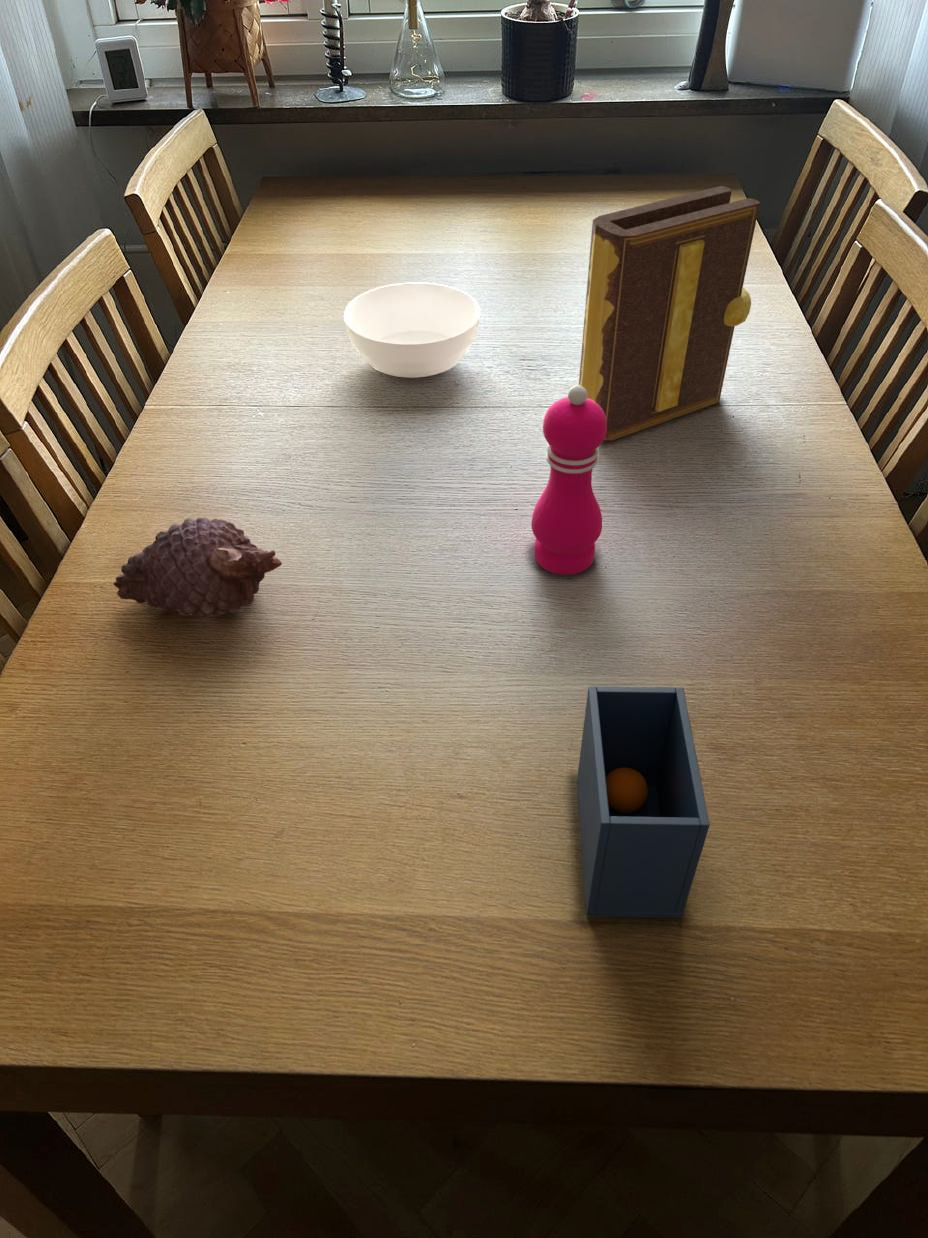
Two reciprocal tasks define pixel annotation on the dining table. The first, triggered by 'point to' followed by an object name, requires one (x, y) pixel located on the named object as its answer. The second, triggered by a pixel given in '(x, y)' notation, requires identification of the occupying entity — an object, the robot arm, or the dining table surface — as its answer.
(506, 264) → the dining table surface
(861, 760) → the dining table surface
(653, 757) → the gray box
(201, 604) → the pine cone
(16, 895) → the dining table surface
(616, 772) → the orange ball
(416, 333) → the bowl
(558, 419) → the pepper mill
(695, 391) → the book
